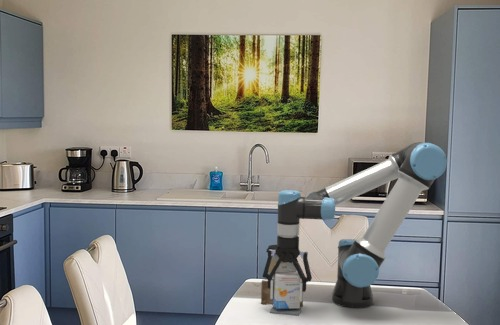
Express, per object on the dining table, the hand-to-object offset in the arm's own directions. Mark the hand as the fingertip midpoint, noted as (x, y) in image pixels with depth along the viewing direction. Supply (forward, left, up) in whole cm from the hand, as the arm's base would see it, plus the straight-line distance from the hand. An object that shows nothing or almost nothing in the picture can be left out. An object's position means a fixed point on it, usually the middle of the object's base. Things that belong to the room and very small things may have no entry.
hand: (286, 299), depth 188 cm
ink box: (0, 0, -3) cm, 3 cm away
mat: (0, 0, -4) cm, 4 cm away
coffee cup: (+9, -32, -4) cm, 34 cm away
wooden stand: (+3, -6, -4) cm, 8 cm away
